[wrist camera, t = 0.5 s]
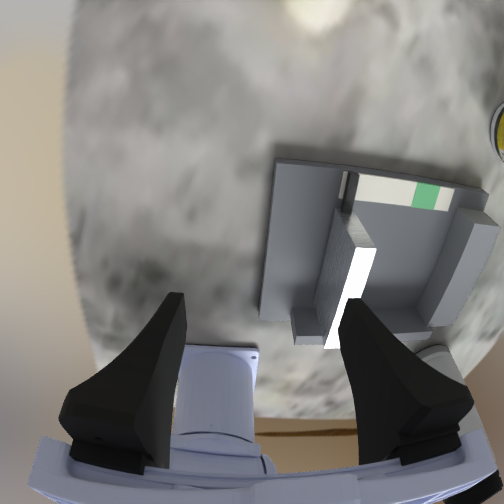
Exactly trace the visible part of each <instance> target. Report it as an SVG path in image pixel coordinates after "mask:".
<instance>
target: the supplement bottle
mask: <svg viewBox="0 0 504 504" xmlns="http://www.w3.org/2000/svg"><path fill="white" fill-rule="evenodd" d="M491 143H492V147H493V149H494V152H495V153H496V155H497V156H498V158H499V159H500V160H502V161H503V162H504V103H503V104H502V105H500V107H499V108H498V109H497V110H496V112H495V114H494V117H493V120H492V124H491Z"/></svg>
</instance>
